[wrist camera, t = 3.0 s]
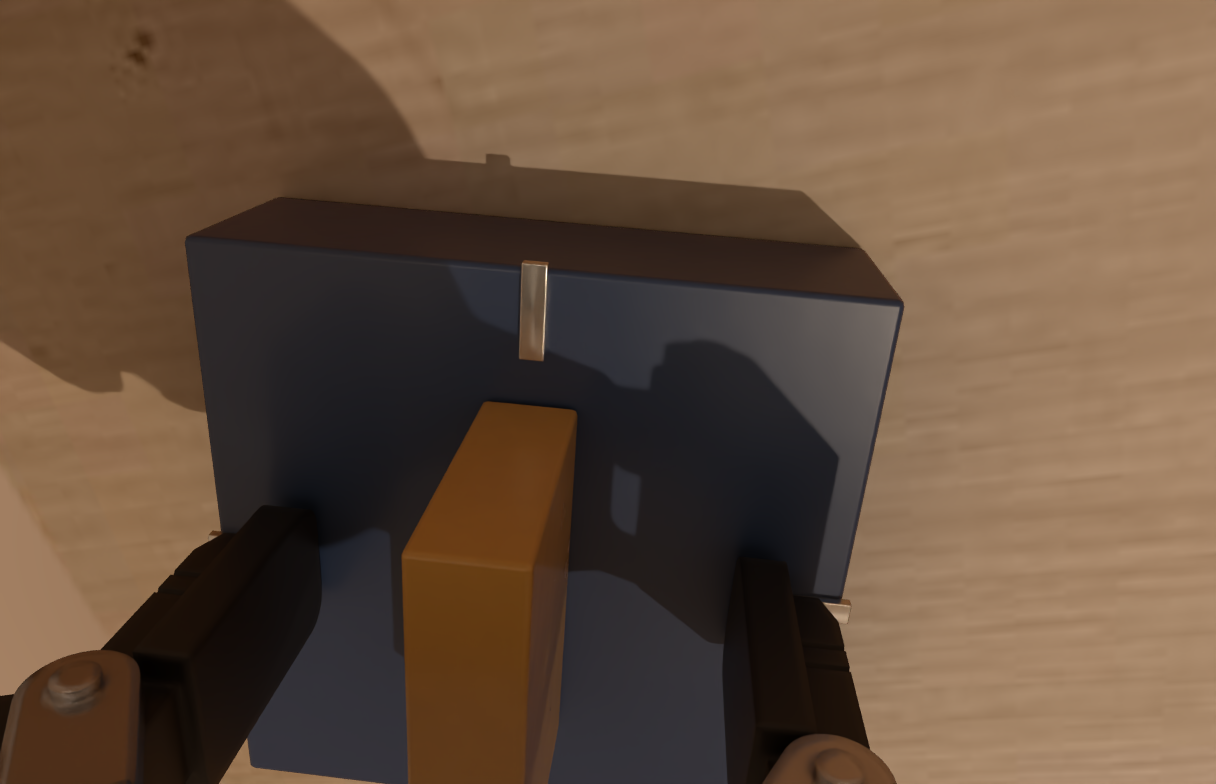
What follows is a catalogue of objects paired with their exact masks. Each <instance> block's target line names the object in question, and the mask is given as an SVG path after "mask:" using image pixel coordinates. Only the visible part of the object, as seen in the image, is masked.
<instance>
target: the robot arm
mask: <svg viewBox="0 0 1216 784" xmlns="http://www.w3.org/2000/svg"><path fill="white" fill-rule="evenodd" d="M321 600H322V585H321V572H320V558H319V545H318V532H317V521H316V517H315V514H314V512H313V511H312V510H308V509H299V508H289V507H280V506H271V505H263V506H261V507H260V508H259V509H258V510H257V511H256V512H255V513H254V514H253V515H252V516H251V517H250V519H249V520H248V521H247V522H246V523H245V524H244V525H243V526H242V528H241V529H240V530H239V531H238V532H237V533H236V534H235V533H225V532H224V533H223V534H221V535H219V536H217V537H216V538H214V539H212V540H210V541H208V542H207V543H205V544H203V545H201V546H200V547H198V548H196V549H194V550H193V551H192V553H191V554H190V555H189V556H188V557H187V558H186V559H185V560H184V561H183V562H182V563H181V564H180V565H179V566H178V568H177V569H176V570H175V573H174V575H170V576H169V577H168V578H167V579H166V580H165V581H164V582H163V584H162V585H161V586H160V587H159V588H158V592H157V593H155V592H154V593H153V594H152V595H151V596H150V597H149V599H148V600H147V601H146V602H145V603H144V604H143V605H142V606H141V607H140V608H139V609H138V610H137V611H136V612H135V613H134V615H133V616H132V617H131V618H130V619H129V620H128V621H127V622H126V623H125V624H124V625H123V626H122V627H121V628H120V629H119V631H118V632H117V633H116V634H115V635H114V636H113V637H112V638H111V639H110V640H109V641H108V642H107V643H106V644H105V646H104V647H103V648H102V649H101V650H93V651H87V652H81V653H77V654H73V655H69V656H66V657H63V658H60V659H58V660H56V661H54V662H51V663H50V664H48V665H46V666H44V667H42V668H40V669H39V670H37V671H36V672H35V673H33V674H32V675H30V676H29V677H28V678H27V679H26V680H25V681H24V682H23V683H22V684H21V685H20V686H19V687H18V689H17V691H16V692H15V694H12V695H5V696H0V784H219V782H220V781H221V779H222V777H223V776H224V774H225V772H226V771H227V769H228V768H229V766H230V764H231V763H232V761H233V760H234V758H235V756H236V755H237V753H238V751H239V750H240V748H241V747H242V745H243V743H244V742H245V740H246V738H247V737H248V735H249V734H250V732H251V730H252V729H253V727H254V725H255V724H256V722H257V721H258V719H259V717H260V716H261V714H262V713H263V711H264V709H265V708H266V706H267V704H268V703H269V701H270V700H271V698H272V696H273V695H274V693H275V691H276V690H277V688H278V687H279V685H280V683H281V682H282V680H283V678H284V677H285V675H286V674H287V672H288V670H289V669H290V667H291V666H292V664H293V662H294V661H295V659H296V657H297V656H298V654H299V653H300V651H301V649H302V648H303V646H304V644H305V643H306V641H307V640H308V638H309V636H310V635H311V633H312V631H313V629H314V627H315V625H316V622H317V619H318V616H319V612H320V607H321ZM849 668H850V667H849V663H848V659H847V655H846V651H844V643H843V639H842V635H841V630H840V626H839V622H838V621H837V619H836V618H835V617H834V616H833V614H832V613H831V612H830V611H829V610H828V608H827V607H826V606H825V605H824V604H823V602H822V601H821V600H820V599H819V598H813V597H804V596H795V595H793V593H792V588H791V582H790V577H789V571H788V566H787V563H786V562H785V561H776V560H767V559H757V558H748V557H738V559H737V562H736V567H735V573H734V579H733V586H732V592H731V599H730V606H729V612H728V619H727V625H726V632H725V639H724V648H723V663H722V684H723V704H724V724H725V743H726V763H727V783H728V784H897V783H896V781H895V778H894V776H893V774H892V773H891V771H890V769H889V768H888V767H887V765H886V764H885V763H884V762H883V761H882V760H881V759H880V758H879V757H878V756H877V755H876V754H875V753H873V752H872V751H871V750H870V747H869V743H868V739H867V735H866V731H865V727H864V723H863V719H862V715H861V711H860V707H859V703H858V699H857V695H856V691H855V687H854V683H853V679H852V675H851V672H849Z"/></svg>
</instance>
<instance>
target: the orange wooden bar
mask: <svg viewBox="0 0 1216 784" xmlns="http://www.w3.org/2000/svg"><path fill="white" fill-rule="evenodd" d="M577 417H578V416H577V413H576V411H574V410H571V409H561V408H551V407H541V406H531V405H521V404H511V403H501V402H491V401H487V402H484V403H483V404H482V406H481V408H480V410H479V412H478V414H477V415H476V417H475V419H474V421H473V423H472V425H471V427H470V428H469V430H468V432H467V434H466V436H465V438H464V439H463V441H462V443H461V445H460V447H459V449H458V451H457V452H456V454H455V456H454V458H453V460H452V462H451V464H450V465H449V467H448V469H447V471H446V473H445V475H444V476H443V478H442V480H441V482H440V484H439V486H438V488H437V489H436V491H435V493H434V495H433V497H432V499H431V500H430V502H429V504H428V506H427V508H426V510H425V512H424V513H423V515H422V517H421V519H420V521H419V523H418V524H417V526H416V528H415V530H414V532H413V534H412V536H411V537H410V539H409V541H408V543H407V545H406V547H405V549H404V550H403V552H402V555H401V561H402V594H403V627H404V661H405V694H406V727H407V761H408V784H548V780H549V774H550V769H551V764H552V758H553V753H554V747H555V742H556V737H557V731H558V726H559V712H560V696H561V679H562V663H563V646H564V630H565V614H566V597H567V581H568V565H569V548H570V532H571V515H572V499H573V483H574V466H575V450H576V433H577Z"/></svg>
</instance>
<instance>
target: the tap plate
mask: <svg viewBox="0 0 1216 784" xmlns="http://www.w3.org/2000/svg"><path fill="white" fill-rule="evenodd" d="M185 247H186V255H187V262H188V270H189V278H190V286H191V294H192V302H193V310H194V318H195V326H196V334H197V342H198V350H199V358H200V366H201V374H202V382H203V390H204V397H205V405H206V413H207V421H208V429H209V437H210V445H211V453H212V461H213V469H214V477H215V485H216V493H217V501H218V509H219V517H220V524H221V531H212V532H211V533H210V534H209V535H208V539H209V541H210V540H212V539H214V538H216V537H217V536H219V535H221V534H223V533H224V532H225V533H235V534H236V533H237V532H238V531H239V530H240V529H241V528H242V526H243V525H244V524H245V523H246V522H247V521H248V520H249V519H250V517H251V516H252V515H253V514H254V513H255V512H256V511H257V510H258V509H259V508H260V507H261V506H263V505H271V506H280V507H289V508H299V509H308V510H312V511H313V512H314V514H315V517H316V521H317V532H318V545H319V558H320V572H321V585H322V600H321V607H320V612H319V616H318V619H317V622H316V625H315V627H314V629H313V631H312V633H311V635H310V636H309V638H308V640H307V641H306V643H305V644H304V646H303V648H302V649H301V651H300V653H299V654H298V656H297V657H296V659H295V661H294V662H293V664H292V666H291V667H290V669H289V670H288V672H287V674H286V675H285V677H284V678H283V680H282V682H281V683H280V685H279V687H278V688H277V690H276V691H275V693H274V695H273V696H272V698H271V700H270V701H269V703H268V704H267V706H266V708H265V709H264V711H263V713H262V714H261V716H260V717H259V719H258V721H257V722H256V724H255V725H254V727H253V729H252V730H251V732H250V734H249V735H248V737H247V739H248V747H249V755H250V763H251V765H252V766H253V767H255V768H263V769H271V770H279V771H287V772H295V773H303V774H311V775H319V776H327V777H335V778H344V779H352V780H360V781H368V782H376V783H384V784H408V761H407V727H406V694H405V661H404V627H403V594H402V561H401V555H402V552H403V550H404V549H405V547H406V545H407V543H408V541H409V539H410V537H411V536H412V534H413V532H414V530H415V528H416V526H417V524H418V523H419V521H420V519H421V517H422V515H423V513H424V512H425V510H426V508H427V506H428V504H429V502H430V500H431V499H432V497H433V495H434V493H435V491H436V489H437V488H438V486H439V484H440V482H441V480H442V478H443V476H444V475H445V473H446V471H447V469H448V467H449V465H450V464H451V462H452V460H453V458H454V456H455V454H456V452H457V451H458V449H459V447H460V445H461V443H462V441H463V439H464V438H465V436H466V434H467V432H468V430H469V428H470V427H471V425H472V423H473V421H474V419H475V417H476V415H477V414H478V412H479V410H480V408H481V406H482V404H483V403H484V402H487V401H491V402H501V403H511V404H521V405H531V406H541V407H551V408H561V409H571V410H574V411H576V413H577V416H578V417H577V433H576V450H575V466H574V483H573V499H572V515H571V532H570V548H569V565H568V581H567V597H566V614H565V630H564V646H563V663H562V679H561V696H560V712H559V726H558V731H557V737H556V742H555V747H554V753H553V758H552V764H551V769H550V774H549V780H548V784H728V783H727V763H726V743H725V724H724V704H723V684H722V663H723V648H724V639H725V632H726V625H727V619H728V612H729V606H730V599H731V592H732V586H733V579H734V573H735V567H736V562H737V559H738V557H748V558H757V559H767V560H776V561H785V562H786V563H787V566H788V571H789V577H790V582H791V588H792V593H793V595H795V596H804V597H813V598H819V599H820V600H821V601H822V602H823V604H824V605H825V606H826V607H827V608H828V610H829V611H830V612H831V613H832V614H833V616H834V617H835V618H836V619H837V621H838V622H839V623H841V624H848V620H849V615H850V611H851V602H850V600H845V599H842V596H843V591H844V586H845V582H846V577H847V572H848V568H849V563H850V558H851V554H852V549H853V544H854V540H855V535H856V530H857V526H858V521H859V516H860V512H861V507H862V502H863V498H864V493H865V488H866V484H867V479H868V474H869V470H870V465H871V460H872V456H873V451H874V446H875V442H876V437H877V432H878V428H879V423H880V418H881V414H882V409H883V404H884V400H885V395H886V390H887V385H888V381H889V376H890V371H891V367H892V362H893V357H894V353H895V348H896V343H897V339H898V334H899V329H900V325H901V320H902V315H903V311H904V303H903V301H902V299H901V298H900V297H899V295H898V294H897V293H896V291H895V290H894V289H893V287H892V286H891V285H890V283H889V282H888V281H887V279H886V278H885V277H884V275H883V274H882V273H881V272H880V270H879V269H878V268H877V266H876V265H875V264H874V262H873V261H872V260H871V258H870V257H869V256H868V254H867V253H866V252H865V251H864V250H862V249H857V248H846V247H834V246H823V245H812V244H800V243H789V242H778V241H766V240H755V239H744V238H732V237H721V236H710V235H698V234H687V233H676V232H664V231H653V230H642V229H630V228H619V227H608V226H596V225H585V224H574V223H562V222H551V221H540V220H528V219H517V218H506V217H494V216H483V215H472V214H460V213H449V212H438V211H426V210H415V209H404V208H392V207H381V206H370V205H358V204H347V203H336V202H324V201H313V200H302V199H290V198H279V197H278V198H275V199H273V200H270V201H268V202H266V203H263V204H261V205H259V206H256V207H254V208H252V209H249V210H247V211H245V212H242V213H240V214H238V215H235V216H233V217H231V218H228V219H226V220H224V221H221V222H219V223H217V224H214V225H212V226H210V227H207V228H205V229H203V230H200V231H198V232H196V233H193V234H191V235H189V236H187V237H186V240H185Z"/></svg>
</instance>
